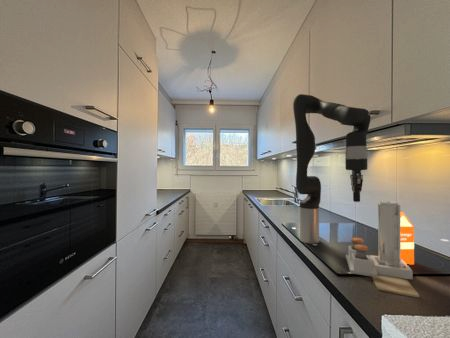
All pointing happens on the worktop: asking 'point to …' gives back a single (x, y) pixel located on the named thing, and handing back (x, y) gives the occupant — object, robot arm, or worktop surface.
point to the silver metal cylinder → (389, 234)
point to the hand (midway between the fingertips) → (356, 201)
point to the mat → (394, 285)
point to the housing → (376, 266)
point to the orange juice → (406, 239)
